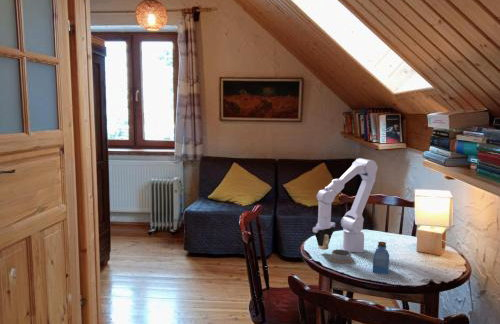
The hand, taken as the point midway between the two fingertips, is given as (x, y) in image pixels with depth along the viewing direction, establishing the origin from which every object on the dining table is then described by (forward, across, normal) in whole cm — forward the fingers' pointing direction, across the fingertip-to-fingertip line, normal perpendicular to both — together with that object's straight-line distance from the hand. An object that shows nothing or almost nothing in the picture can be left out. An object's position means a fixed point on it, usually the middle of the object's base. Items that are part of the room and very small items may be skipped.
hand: (323, 244), depth 189 cm
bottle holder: (+4, 0, +10) cm, 11 cm away
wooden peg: (+2, 0, 0) cm, 2 cm away
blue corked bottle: (+5, -1, +28) cm, 29 cm away
